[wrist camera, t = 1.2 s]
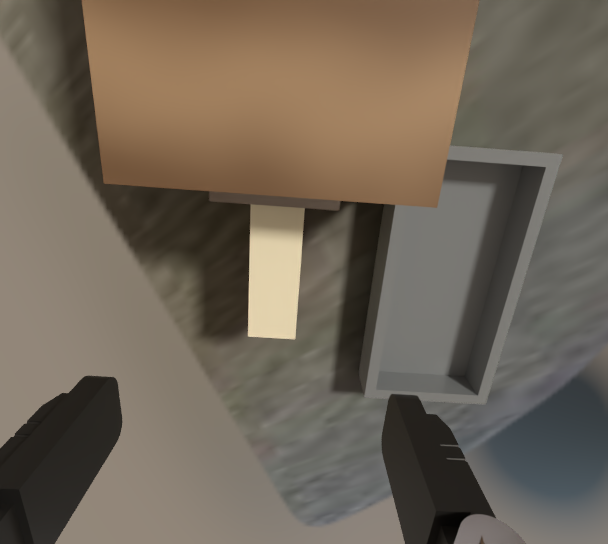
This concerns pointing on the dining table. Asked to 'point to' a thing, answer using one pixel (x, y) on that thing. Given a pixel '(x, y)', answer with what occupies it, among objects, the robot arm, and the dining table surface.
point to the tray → (454, 277)
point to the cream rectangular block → (274, 270)
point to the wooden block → (279, 97)
